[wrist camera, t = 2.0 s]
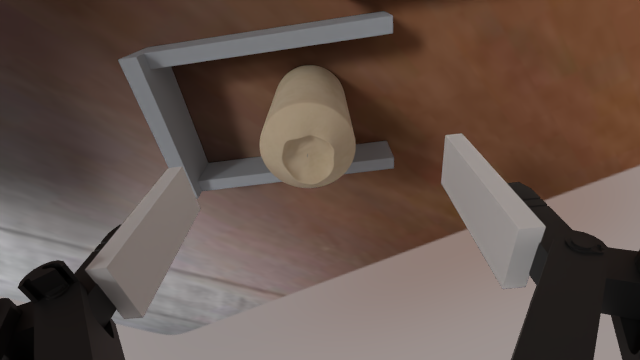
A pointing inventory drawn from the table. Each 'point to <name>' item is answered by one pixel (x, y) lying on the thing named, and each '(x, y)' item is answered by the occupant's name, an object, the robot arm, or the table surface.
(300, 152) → the candle
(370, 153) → the bracket
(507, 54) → the table surface
